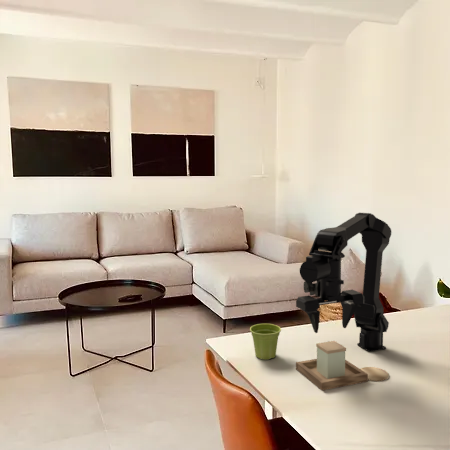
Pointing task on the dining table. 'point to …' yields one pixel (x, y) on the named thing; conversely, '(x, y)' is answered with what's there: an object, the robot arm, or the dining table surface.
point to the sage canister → (331, 359)
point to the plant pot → (265, 340)
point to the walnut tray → (351, 377)
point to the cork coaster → (375, 373)
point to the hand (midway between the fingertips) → (330, 330)
